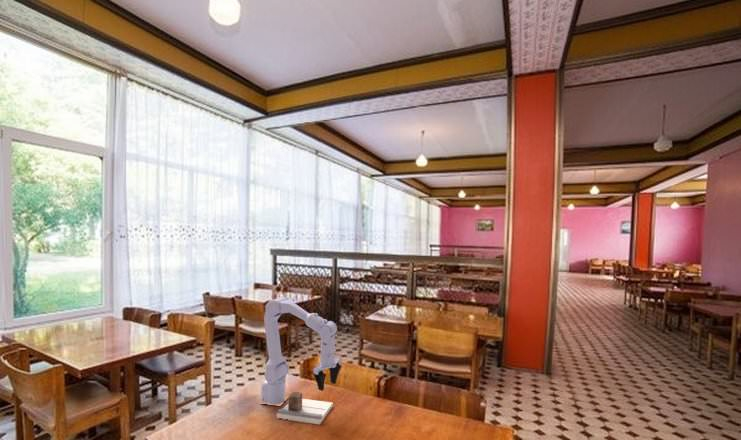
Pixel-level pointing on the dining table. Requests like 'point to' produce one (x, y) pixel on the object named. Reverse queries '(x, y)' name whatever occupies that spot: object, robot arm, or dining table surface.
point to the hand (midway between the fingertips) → (327, 386)
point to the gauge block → (295, 401)
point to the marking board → (307, 412)
